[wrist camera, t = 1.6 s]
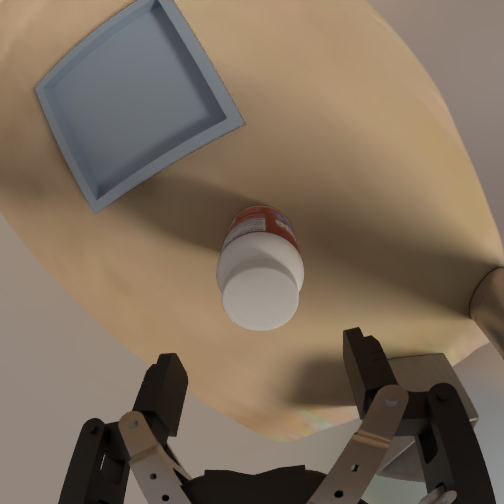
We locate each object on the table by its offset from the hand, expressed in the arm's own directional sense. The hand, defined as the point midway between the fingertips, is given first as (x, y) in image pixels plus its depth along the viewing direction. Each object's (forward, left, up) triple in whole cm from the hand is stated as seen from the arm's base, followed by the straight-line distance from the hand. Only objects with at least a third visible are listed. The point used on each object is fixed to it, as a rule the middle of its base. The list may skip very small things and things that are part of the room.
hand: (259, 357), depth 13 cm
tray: (+9, -16, -16) cm, 24 cm away
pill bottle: (0, 0, -16) cm, 16 cm away
